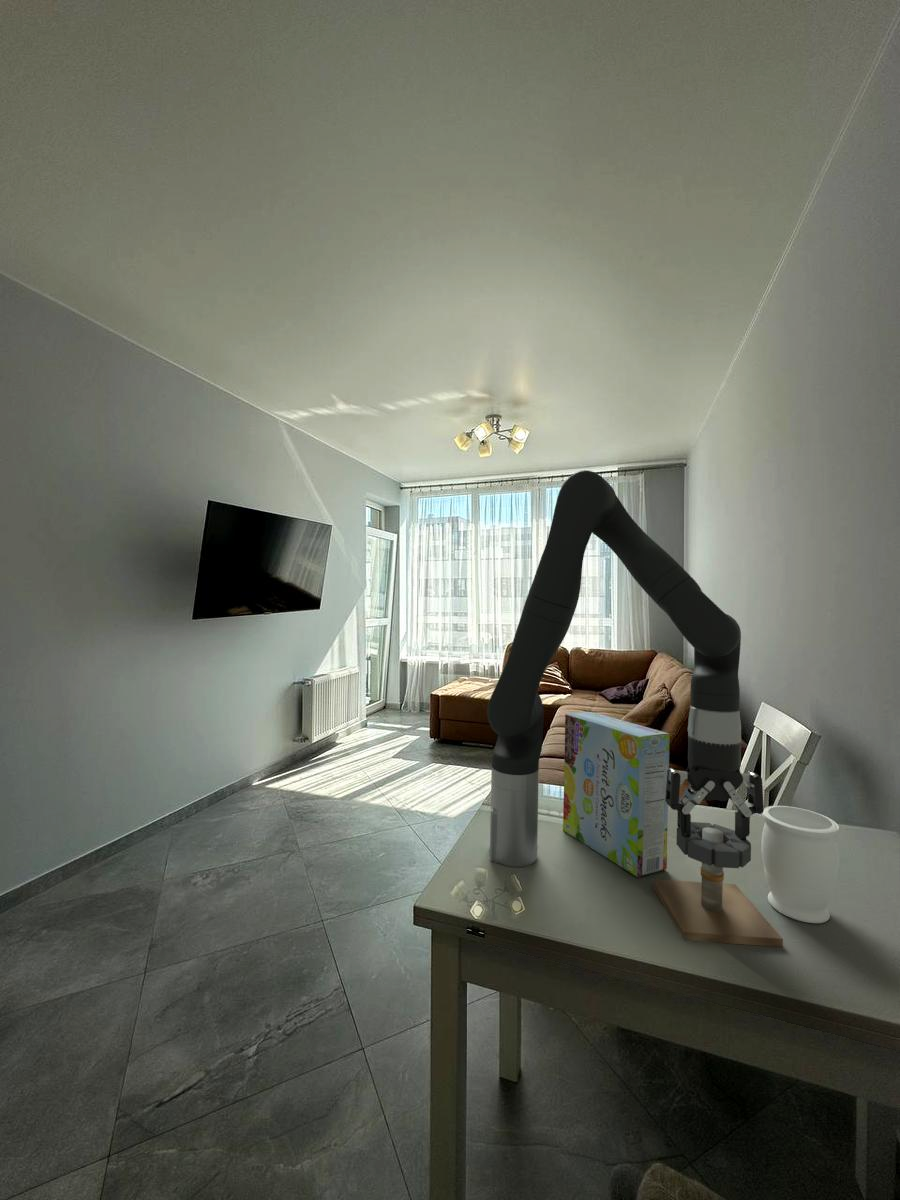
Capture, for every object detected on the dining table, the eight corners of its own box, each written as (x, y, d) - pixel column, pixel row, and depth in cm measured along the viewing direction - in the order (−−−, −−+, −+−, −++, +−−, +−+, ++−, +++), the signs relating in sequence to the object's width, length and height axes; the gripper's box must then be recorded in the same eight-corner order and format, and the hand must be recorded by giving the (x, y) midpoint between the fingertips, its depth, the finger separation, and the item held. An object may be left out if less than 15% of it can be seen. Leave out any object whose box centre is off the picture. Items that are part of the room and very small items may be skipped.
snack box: (671, 870, 93) (673, 732, 93) (637, 881, 89) (639, 737, 89) (590, 822, 112) (592, 709, 112) (560, 829, 108) (561, 712, 108)
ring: (693, 865, 75) (693, 849, 75) (669, 834, 85) (669, 820, 85) (761, 869, 74) (762, 853, 74) (729, 838, 84) (729, 823, 84)
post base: (683, 940, 73) (685, 850, 73) (652, 886, 87) (653, 811, 87) (782, 947, 72) (784, 856, 72) (735, 891, 86) (736, 815, 86)
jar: (811, 936, 75) (812, 836, 75) (746, 898, 84) (747, 809, 84) (852, 919, 79) (854, 825, 79) (786, 884, 88) (787, 801, 88)
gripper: (677, 740, 77) (676, 845, 77) (773, 743, 75) (772, 850, 75) (660, 728, 84) (659, 823, 84) (748, 731, 83) (747, 828, 83)
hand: (713, 836), depth 80 cm, fingers open, 8 cm apart
